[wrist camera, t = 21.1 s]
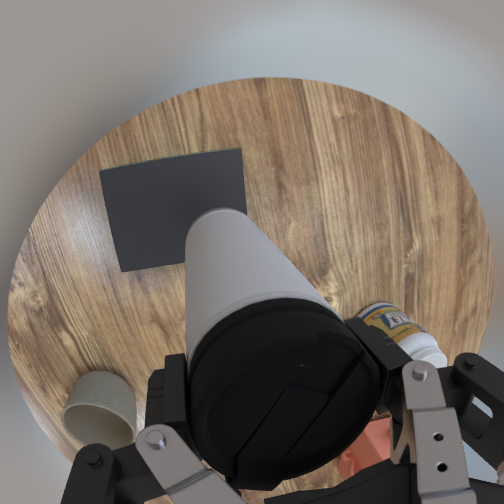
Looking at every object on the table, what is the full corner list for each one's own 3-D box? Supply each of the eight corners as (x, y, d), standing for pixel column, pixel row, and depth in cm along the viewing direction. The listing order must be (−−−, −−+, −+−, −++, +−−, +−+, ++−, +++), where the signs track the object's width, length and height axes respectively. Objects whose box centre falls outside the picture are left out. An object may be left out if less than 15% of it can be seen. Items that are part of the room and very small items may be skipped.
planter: (80, 350, 45) (63, 392, 35) (147, 374, 49) (143, 419, 39) (72, 397, 48) (59, 437, 38) (132, 417, 52) (128, 460, 41)
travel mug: (171, 265, 26) (160, 481, 8) (205, 194, 25) (260, 321, 6) (237, 292, 28) (316, 494, 10) (272, 226, 27) (428, 374, 8)
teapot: (351, 399, 61) (390, 456, 44) (423, 385, 66) (463, 427, 50) (320, 464, 68) (344, 514, 51) (387, 447, 73) (415, 488, 56)
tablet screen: (100, 170, 36) (99, 171, 35) (240, 148, 39) (241, 148, 38) (122, 269, 41) (121, 272, 41) (249, 249, 44) (250, 252, 43)
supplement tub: (403, 297, 55) (461, 340, 39) (388, 350, 59) (435, 399, 43) (350, 302, 53) (405, 355, 37) (338, 359, 56) (380, 418, 40)
